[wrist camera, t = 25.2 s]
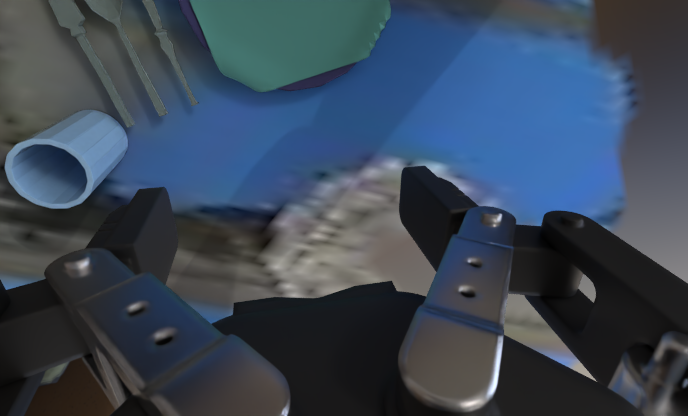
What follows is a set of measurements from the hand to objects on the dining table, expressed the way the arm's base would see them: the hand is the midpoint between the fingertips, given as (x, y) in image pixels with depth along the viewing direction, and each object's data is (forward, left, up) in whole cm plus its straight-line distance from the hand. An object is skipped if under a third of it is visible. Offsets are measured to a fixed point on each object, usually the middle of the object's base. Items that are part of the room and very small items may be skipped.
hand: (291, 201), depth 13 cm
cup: (+17, -7, -30) cm, 35 cm away
